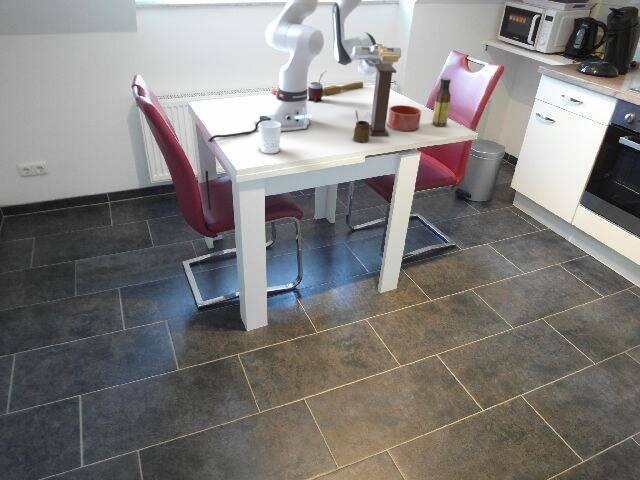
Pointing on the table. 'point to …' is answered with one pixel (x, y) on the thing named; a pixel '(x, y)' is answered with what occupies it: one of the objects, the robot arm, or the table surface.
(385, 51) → the light wooden bar
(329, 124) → the table surface
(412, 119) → the bowl
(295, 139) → the table surface
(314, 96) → the mate gourd
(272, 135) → the white cup
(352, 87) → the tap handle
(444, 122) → the sauce bottle
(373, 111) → the stand
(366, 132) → the wooden mate cup
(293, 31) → the robot arm
